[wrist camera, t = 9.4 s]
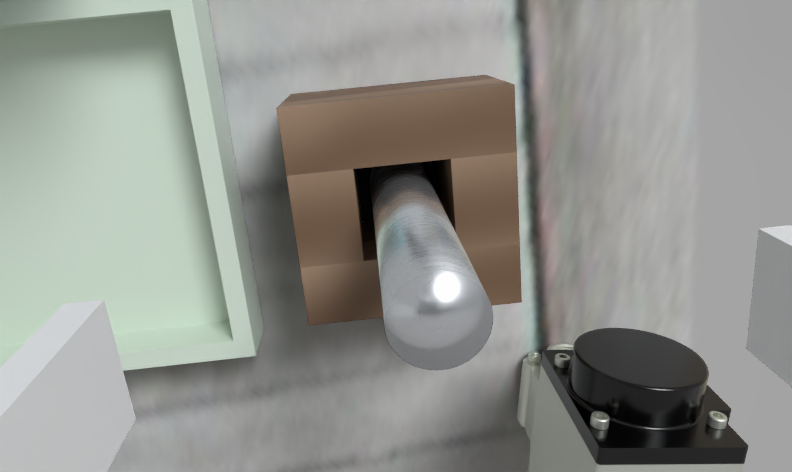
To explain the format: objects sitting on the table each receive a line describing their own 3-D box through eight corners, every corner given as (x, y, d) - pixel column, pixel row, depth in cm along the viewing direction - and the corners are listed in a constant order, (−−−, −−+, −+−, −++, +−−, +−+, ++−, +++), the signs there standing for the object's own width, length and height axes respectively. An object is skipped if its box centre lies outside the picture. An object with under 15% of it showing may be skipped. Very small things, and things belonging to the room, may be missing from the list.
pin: (367, 155, 27) (379, 276, 14) (423, 149, 27) (490, 265, 14) (372, 209, 28) (390, 375, 14) (427, 203, 28) (495, 363, 14)
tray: (-182, 24, 24) (-242, 22, 22) (205, -13, 24) (188, -17, 22) (-61, 365, 29) (-99, 395, 26) (264, 329, 29) (256, 356, 27)
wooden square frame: (291, 94, 26) (276, 108, 21) (485, 74, 26) (514, 84, 21) (316, 276, 28) (308, 325, 24) (494, 257, 29) (521, 302, 24)
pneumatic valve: (494, 486, 32) (570, 732, 21) (516, 271, 29) (621, 428, 18) (600, 485, 33) (730, 726, 21) (635, 273, 29) (812, 427, 18)
